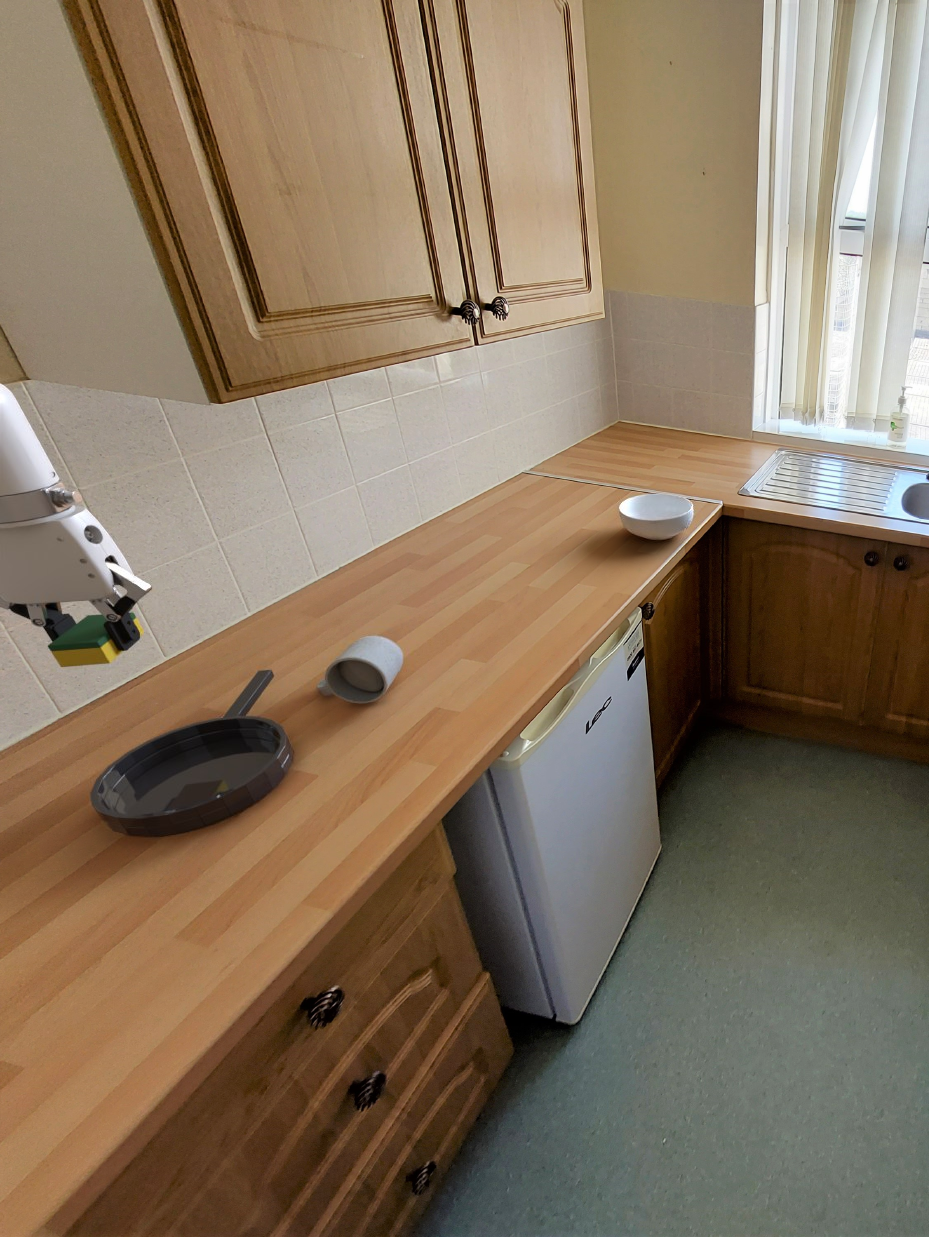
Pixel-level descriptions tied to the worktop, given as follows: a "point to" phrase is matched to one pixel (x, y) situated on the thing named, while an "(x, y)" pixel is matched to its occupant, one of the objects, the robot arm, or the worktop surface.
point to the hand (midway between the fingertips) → (102, 645)
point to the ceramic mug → (363, 670)
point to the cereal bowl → (656, 515)
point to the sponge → (87, 643)
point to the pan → (193, 776)
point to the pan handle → (250, 694)
